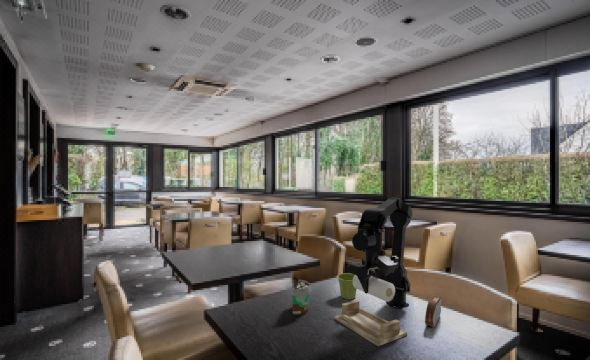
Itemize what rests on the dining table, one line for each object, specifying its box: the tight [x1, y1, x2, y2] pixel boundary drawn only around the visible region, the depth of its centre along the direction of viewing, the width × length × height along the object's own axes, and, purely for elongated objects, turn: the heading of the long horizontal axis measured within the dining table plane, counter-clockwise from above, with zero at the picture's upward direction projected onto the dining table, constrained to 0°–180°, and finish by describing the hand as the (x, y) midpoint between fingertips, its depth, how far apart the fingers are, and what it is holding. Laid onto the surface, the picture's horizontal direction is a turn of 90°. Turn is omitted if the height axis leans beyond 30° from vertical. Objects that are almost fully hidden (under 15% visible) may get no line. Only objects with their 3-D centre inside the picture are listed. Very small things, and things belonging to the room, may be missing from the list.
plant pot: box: [336, 272, 357, 300], centre depth 133 cm, size 9×9×9 cm
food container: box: [291, 279, 312, 317], centre depth 118 cm, size 12×6×10 cm, turn 168°
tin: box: [424, 294, 443, 328], centre depth 110 cm, size 15×3×8 cm, turn 145°
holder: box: [334, 299, 408, 347], centre depth 106 cm, size 13×21×5 cm, turn 31°
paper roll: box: [353, 275, 395, 303], centre depth 107 cm, size 14×6×6 cm, turn 31°
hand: (372, 291), depth 107 cm, fingers closed on paper roll, 6 cm apart
